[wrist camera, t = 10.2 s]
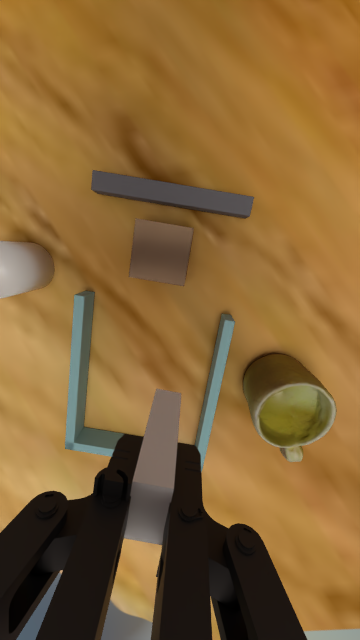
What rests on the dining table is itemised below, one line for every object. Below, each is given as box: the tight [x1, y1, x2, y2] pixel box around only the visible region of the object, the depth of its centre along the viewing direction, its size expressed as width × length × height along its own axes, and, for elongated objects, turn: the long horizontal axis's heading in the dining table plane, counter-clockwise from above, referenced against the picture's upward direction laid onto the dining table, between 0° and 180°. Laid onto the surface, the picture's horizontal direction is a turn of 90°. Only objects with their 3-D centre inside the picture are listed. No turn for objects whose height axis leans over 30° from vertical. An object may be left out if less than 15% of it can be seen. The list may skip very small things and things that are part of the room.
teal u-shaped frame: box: [65, 291, 235, 472], centre depth 37 cm, size 22×19×4 cm
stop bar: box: [91, 170, 254, 218], centre depth 31 cm, size 2×18×2 cm, turn 81°
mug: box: [243, 354, 337, 462], centre depth 34 cm, size 12×10×10 cm
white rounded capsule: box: [0, 241, 54, 298], centre depth 32 cm, size 6×6×7 cm
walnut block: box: [129, 218, 194, 286], centre depth 31 cm, size 6×6×6 cm
